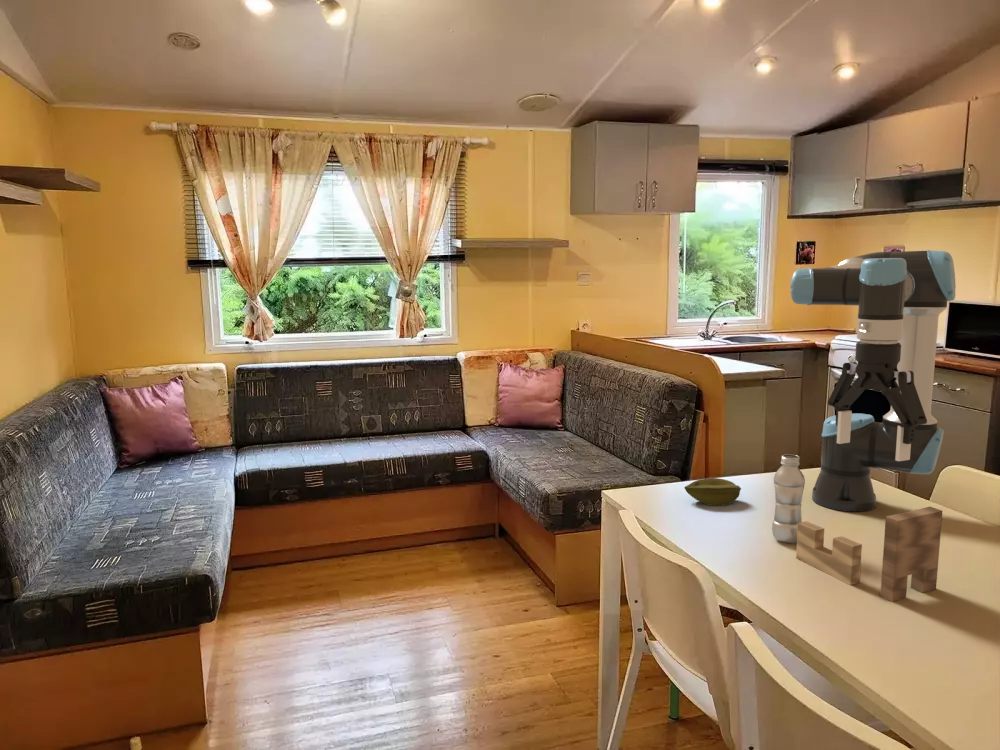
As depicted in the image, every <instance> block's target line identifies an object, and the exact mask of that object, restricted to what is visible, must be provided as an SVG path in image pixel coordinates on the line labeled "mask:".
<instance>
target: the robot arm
mask: <svg viewBox="0 0 1000 750" xmlns="http://www.w3.org/2000/svg"><path fill="white" fill-rule="evenodd" d="M956 289H957V288H956V273H955V264H954V259H953V257H952V255H951V253H950V252H949V251H946V250H945V251H943V250H930V249H929V250H908V251H907V250H906V251H902V250H901V251H877V252H876V251H875V252H871V253H870V252H869V253H866V254H865V253H864V254H861V255H858V256H857V255H856V256H853V257H849V258H846V259H844V260H843V261H840V262H839V264H837V265H831V266H827V267H821V268H819V267H817V268H815V267H813V268H812V267H808V268H798V269H796V270H795V271H794V272H793V274H792V277H791V281H790V296H791V297H790V298H791V300H792V301H793V302H794V304H797V305H806V306H817V305H818V306H858V313H857V329H856V339H858V340H859V341H857V342H856V343H855V357H854V359H855V361H852V362H844V363H843V364H842V369H841V374H840V376H839V378H838V379H837V382H836V384H835V386H834V387H833V388H834V389H833V390H832V392H831V395H830V396H829V398H828V400H827V405H828V406H830V407H831V406H832V407H833V408H834V410H835V415H831V416H829V417H827V418H826V419H824V422H823V427H822V433H821V437H822V438H821V453H820V454H821V458H820V471H819V474H818V477H817V478H816V481H815V483H814V486H813V487H812V493H811V499H812V501H813V502H814V503H815V504H818V505H819V506H821V507H822V506H823V507H825V508H827V509H833V510H836V511H837V510H838V511H844V512H865V511H866V512H867V511H870V510H873V509H875V507H876V506H877V495H876V493H875V490H874V487H873V482H872V478H871V468H872V469H873V468H874V469H879V470H887V471H892V472H893V471H894V472H901V473H907V474H909V475H912V474H917V475H930V474H932V473H933V472H934V471H935V469H936V466H937V463H938V459H939V455H940V451H941V448H942V444H943V439H944V434H945V433H944V432H945V430H944V429H943V428H940V427H938V420H937V419H936V418H935V417H934V416H933V415H932V401H933V390H934V389H933V388H934V376H935V365H936V354H937V353H936V352H937V339H938V327H939V317H940V314H942V313H943V312H944V311H946V309H947V308H948V302H951V301H954V300H955V299H956ZM856 375H857V378H856ZM855 378H856V379H855ZM854 379H855V380H854ZM866 390H872V391H874V392H878V393H879V392H880V393H881V394H882V395H883V396H885V397H886V399H887V401H888V403H889V404H890V410H889V411H888V412H887V413H885V414H884V415H882V422H878V421H875V418H874V416H873V415H871V414H869V413H868V414H866V413H857V412H856V413H853V412H852V411H853V410H851V409H852V408H851V406H852V405H853V404H854V402H856V400H857V399H858V398H859V397H860V396H861V395H862V394H863V392H865V391H866Z"/></svg>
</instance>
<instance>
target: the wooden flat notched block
mask: <svg viewBox="0 0 1000 750" xmlns="http://www.w3.org/2000/svg"><path fill="white" fill-rule="evenodd" d="M942 521H943V509H939V508H936V507H933V506H927V507H922V508H919V509H913V510H908V511H903V512H899V513H896V514H891V515H886V516H885V525H884V537H883V538H884V539H883V551H882V552H883V553H882V554H883V555H882V566H881V567H882V568H881V580H880V582H881V583H880V595H879V596H880V597H881V598H883V599H885V600H888V601H889V602H891V603H892V602H896V601H900V600H902V599H906V598H907V589H908V576H911V578H910V588H911V589H913V590H915V591H917V592H920V593H921V594H924V593H928V592H931V591H935V590H936V589H937V582H938V581H937V580H938V571H939V570H938V569H939V556H940V544H941V532H942V523H943V522H942Z"/></svg>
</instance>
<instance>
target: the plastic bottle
mask: <svg viewBox="0 0 1000 750" xmlns="http://www.w3.org/2000/svg"><path fill="white" fill-rule="evenodd" d="M780 458H781V460H780V465H781V466H780V467H779V468H778V469H777V471H776V472H775V473H774V476H773V485H774V493H775V495H774V496H775V497H774V498H775V508H774V516H773V520H772V523H771V524H772V526H771V531H772V536H773V537H774V539H775V540H777V541H778V542H781V543H782V542H783V543H786V544H787V543H788V544H795V543H796V544H797V530H798V523H800V522H803V520H802V519H803V518H802V501H803V495H804V489H805V485H806V484H805V483H806V479H805V476H804V474H803V472H802V471H801V469H800V468H799V466H800V464H801V463H800V456H799V455H797V454H796V455H795V454H792V453H791V454H788V453H785V454H782V455H781V457H780Z"/></svg>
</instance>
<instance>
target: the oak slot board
mask: <svg viewBox="0 0 1000 750" xmlns="http://www.w3.org/2000/svg"><path fill="white" fill-rule="evenodd" d="M824 539H825V527H821V526H819V525H816V524H815V523H812V522H810V521H807V520H805V521H802V522H800V523H798V530H797V542H796V551H795V552H796V553H795V558H796V559H797V560H800V561H801V562H803V563H805V564H807V565H809V566H811V567H813V568H815V569H818V570H819V571H822V572H824V573H825V574H827V575H829V576H831V577H833V578H835V579H838V580H840V581H841V582H844V583H846V584H848V585H850V586H851V585H855V584H859V583H861V581H860V580H861V568H862V567H861V565H862V563H861V562H862V548H863V544H862V543H860V542H857V541H855V540H852V539H850V538H847V537H846V536H844V535H840V536H837V537H833V538H832V547H831V549H830V548H827V547H825V545H824V542H825V540H824Z"/></svg>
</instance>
